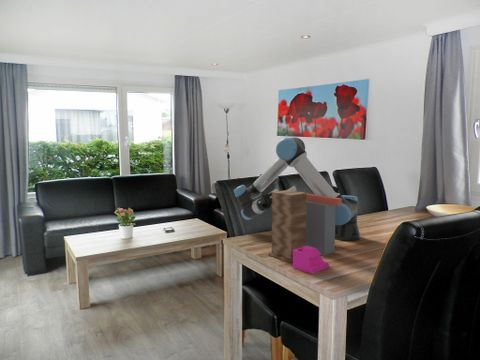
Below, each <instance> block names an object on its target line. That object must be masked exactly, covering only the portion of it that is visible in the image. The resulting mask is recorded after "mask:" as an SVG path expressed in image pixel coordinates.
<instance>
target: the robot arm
mask: <svg viewBox="0 0 480 360" xmlns="http://www.w3.org/2000/svg"><path fill="white" fill-rule="evenodd" d="M275 153H276V156H277V157H278V158H276V159H275V160H274V161H273V162H272V163H271V164H270V166H268V167H267V168H266V170H264V171H263V173H261V175H260V176H259V177H258V178H256V180H255V181H254V182H253V183H252V184H251V185H249V187H246V185H244V184H241V185H239V186H237V187H236V188H234V189H233V193H234V196H235V198H236V199H237V201H238V203H239V205H240V207H241V208H242V209H241V211H240V213H241V217H242V218H243V219H244V220H245V221H249V220H251V219H254V218H255V217H257V216H258V215H259V216H260V215H262V214H263V213H264V212H266V211H268V209H270V208H272V192H277V191H279V189H278V188H275V189H273V190H272V191H270V192H269V193H266V194H263V195H262V193H263V192H264V191H265V190H266V188H268V187H269V186H270V184H272V183H273V182H274V181H275V180H276V179H277V178H278V177H279V176H280V175H281V174H282V173H283V172H284V171H285V170H287V168H288V167H290V168H294V169H295V171H296V172H297V173H298V174H299V176H300V177H301V179H303V181H304V182H305V184H306V185H307V186H308V187H309V188H310V190H311V191H312V192H313V194H314V195H321V196H328V197H335V198H342V205H339V206H336V210H335V240H339V241H349V242H350V241H357V240H360V239H361V232H360V229H359V226H358V208H359V207H358V204H359V198H358V196H355V195H344V194H343V195H342V194H341V193H340V192H336V191H335V190H334V189H333V188H332V186H331V185H330V184H329V183H328V182H327V180H326V179H325V178H324V176H323V175H322V174H321V173H320V172H319V170H318V169H317V168H316V167H315V166H314V164H313V163H312V162H311V160H310V159H309V158H308V157H307V156H308V153H307V151H306V144H305V142H304V141H303V140H302V139H301V138H299V137H284V138H282V139H280V140H278V142H277V143H276V148H275ZM287 190H290V191H297V187H296V185H293V186H291V187H290V188H288V189H287ZM297 192H298V191H297ZM261 195H262V196H261ZM260 196H261V197H260ZM255 198H256V199H255Z"/></svg>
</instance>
